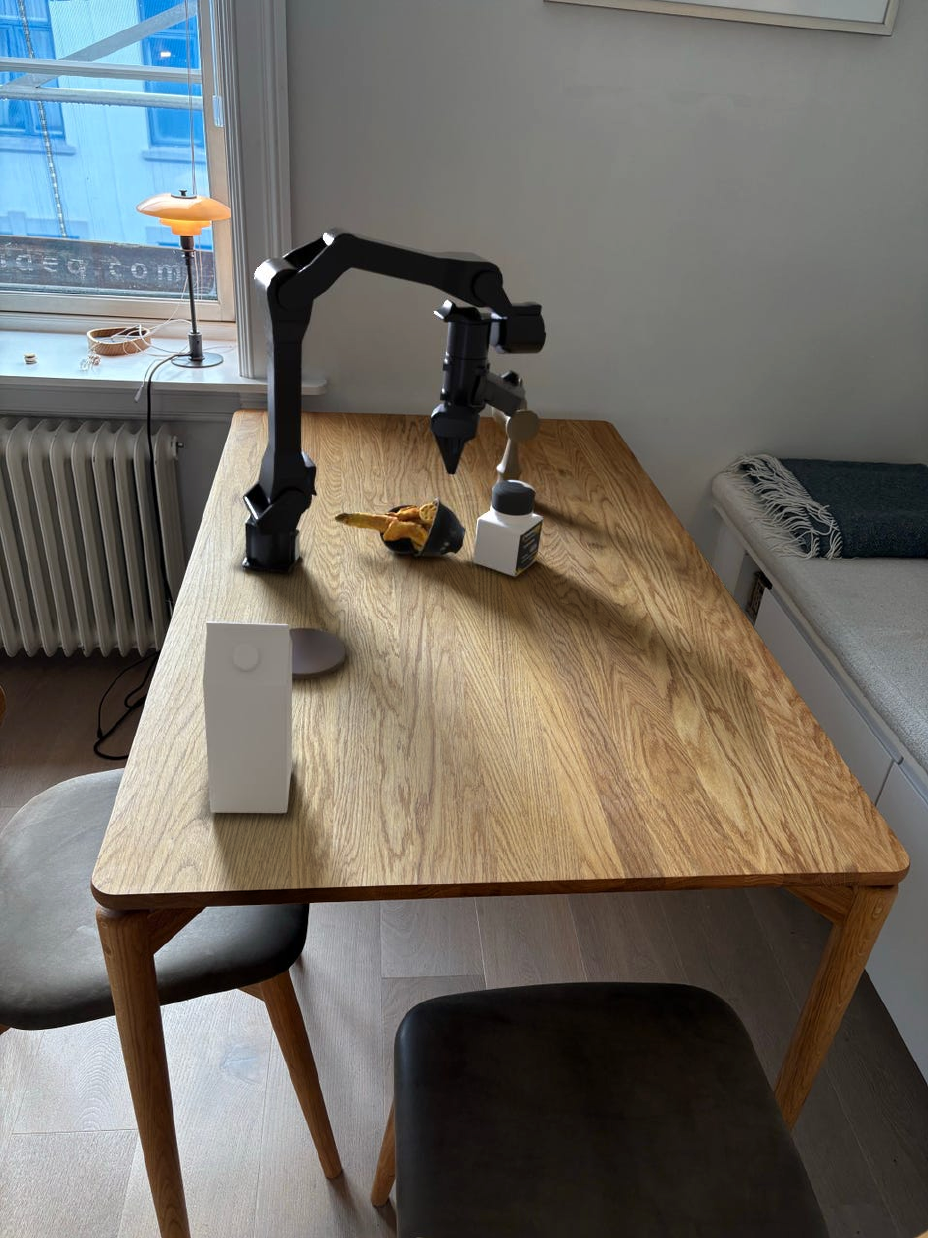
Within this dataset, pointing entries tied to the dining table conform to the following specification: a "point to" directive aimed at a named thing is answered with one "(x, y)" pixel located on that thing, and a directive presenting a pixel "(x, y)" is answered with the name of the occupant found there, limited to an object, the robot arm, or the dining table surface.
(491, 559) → the medicine bottle
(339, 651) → the coaster
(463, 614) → the dining table surface
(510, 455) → the kendama
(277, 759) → the milk carton
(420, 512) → the fried shrimp in bowl
